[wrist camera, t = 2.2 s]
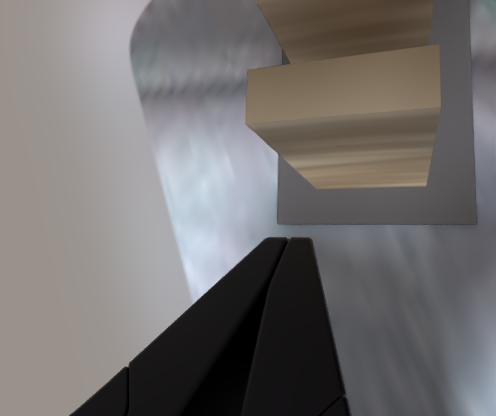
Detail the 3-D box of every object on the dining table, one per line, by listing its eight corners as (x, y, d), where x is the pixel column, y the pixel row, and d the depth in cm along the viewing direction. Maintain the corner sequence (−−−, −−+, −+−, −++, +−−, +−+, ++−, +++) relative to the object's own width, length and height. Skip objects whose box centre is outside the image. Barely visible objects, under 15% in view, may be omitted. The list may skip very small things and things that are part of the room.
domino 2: (426, 186, 19) (440, 106, 10) (316, 189, 21) (245, 123, 12) (425, 152, 20) (439, 44, 10) (317, 158, 21) (247, 69, 12)
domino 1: (424, 102, 20) (436, -46, 11) (318, 112, 22) (250, -8, 13) (424, 70, 20) (435, -102, 11) (318, 82, 22) (253, -58, 13)
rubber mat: (475, 224, 19) (476, 223, 19) (279, 224, 22) (277, 223, 22) (463, -116, 21) (464, -123, 21) (288, -72, 24) (286, -78, 24)
